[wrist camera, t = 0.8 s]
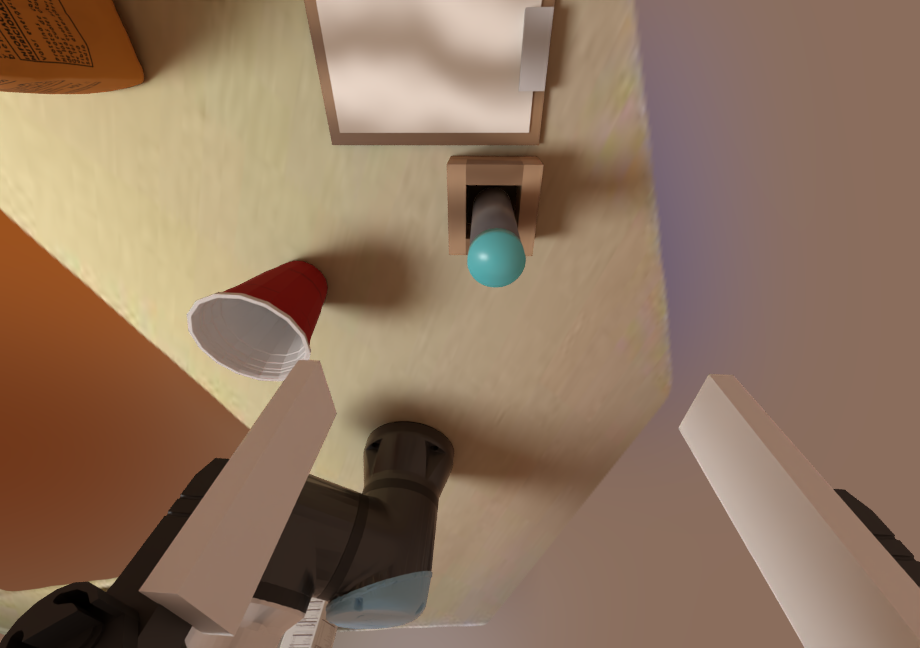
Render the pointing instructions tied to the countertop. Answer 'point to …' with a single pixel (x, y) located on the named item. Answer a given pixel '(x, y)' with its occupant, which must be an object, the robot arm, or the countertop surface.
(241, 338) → the plastic cup
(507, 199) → the marker
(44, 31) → the coffee package
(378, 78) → the clipboard
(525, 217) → the stand
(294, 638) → the supplement box
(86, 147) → the countertop surface
